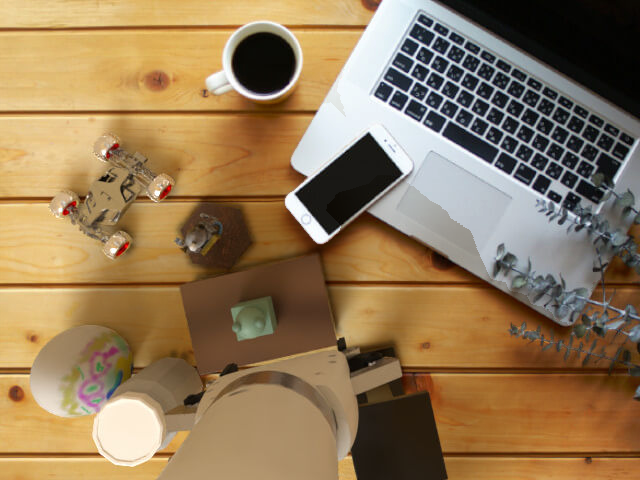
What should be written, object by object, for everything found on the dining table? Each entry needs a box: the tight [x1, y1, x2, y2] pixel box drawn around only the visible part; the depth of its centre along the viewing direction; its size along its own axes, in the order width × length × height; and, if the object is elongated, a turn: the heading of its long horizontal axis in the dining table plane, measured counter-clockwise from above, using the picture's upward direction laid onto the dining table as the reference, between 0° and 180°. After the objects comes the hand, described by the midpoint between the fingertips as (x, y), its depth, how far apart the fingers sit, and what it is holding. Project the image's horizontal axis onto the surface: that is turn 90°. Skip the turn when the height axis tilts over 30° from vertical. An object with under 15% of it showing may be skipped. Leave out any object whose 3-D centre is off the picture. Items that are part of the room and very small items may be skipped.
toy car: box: [48, 131, 176, 260], centre depth 76 cm, size 15×12×5 cm
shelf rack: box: [178, 251, 338, 377], centre depth 73 cm, size 12×18×11 cm, turn 103°
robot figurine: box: [173, 201, 253, 271], centre depth 72 cm, size 11×9×12 cm
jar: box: [91, 356, 204, 468], centre depth 70 cm, size 10×10×18 cm
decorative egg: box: [29, 324, 134, 419], centre depth 71 cm, size 12×12×15 cm
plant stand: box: [349, 344, 449, 480], centre depth 65 cm, size 9×9×26 cm
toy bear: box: [231, 296, 278, 341], centre depth 63 cm, size 4×4×9 cm
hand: (290, 367), depth 45 cm, fingers open, 9 cm apart
